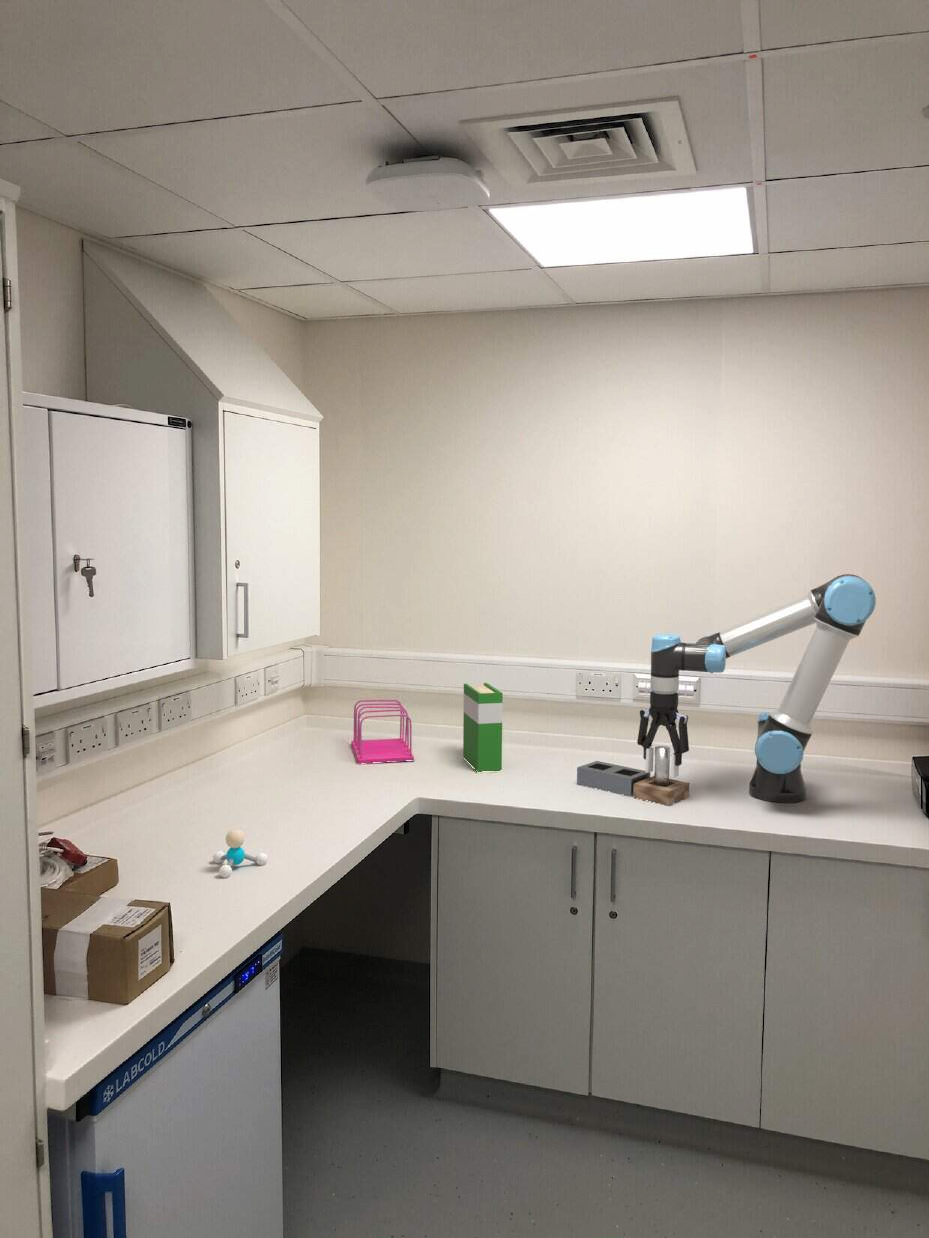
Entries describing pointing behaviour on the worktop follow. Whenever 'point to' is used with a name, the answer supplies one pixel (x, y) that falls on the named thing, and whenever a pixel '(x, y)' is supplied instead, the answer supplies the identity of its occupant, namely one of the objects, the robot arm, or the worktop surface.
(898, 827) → the worktop surface
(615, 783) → the block
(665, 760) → the silver metal cylinder
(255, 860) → the molecule model
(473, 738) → the hardback book
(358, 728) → the file sorter
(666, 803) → the walnut socket block
